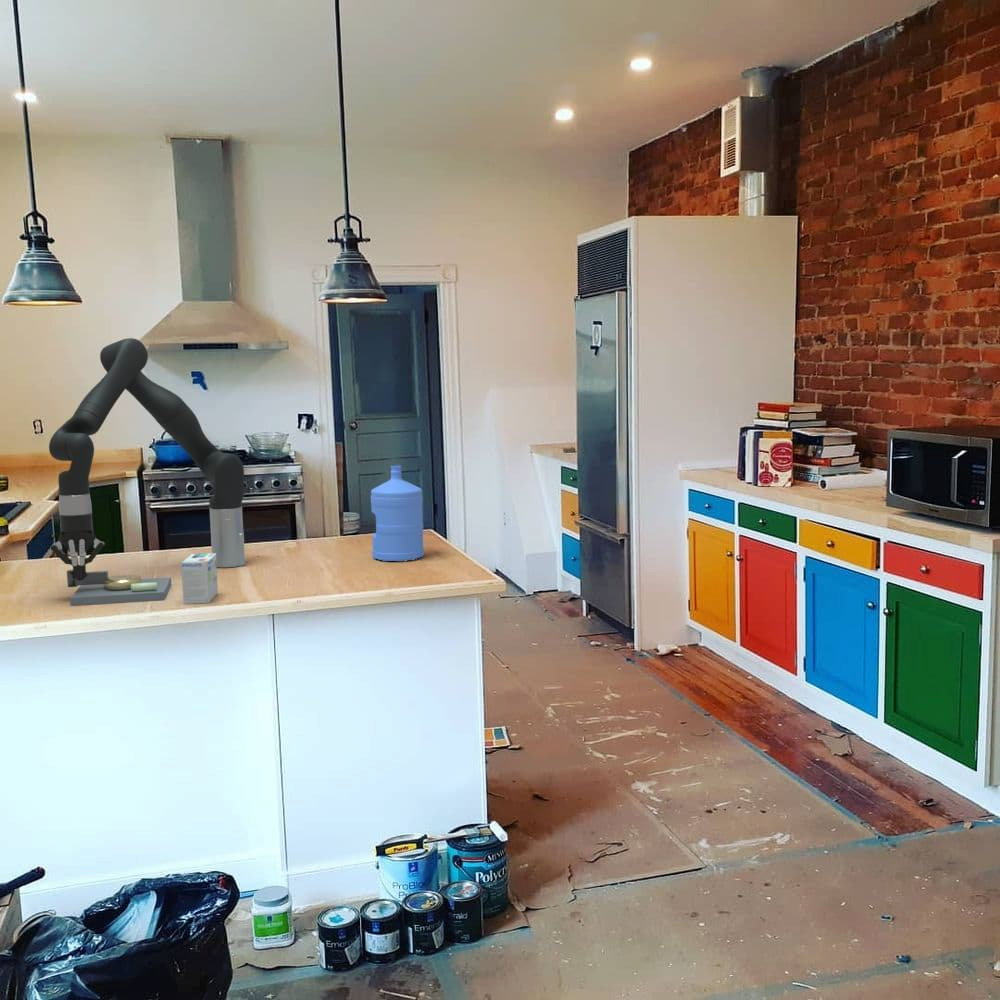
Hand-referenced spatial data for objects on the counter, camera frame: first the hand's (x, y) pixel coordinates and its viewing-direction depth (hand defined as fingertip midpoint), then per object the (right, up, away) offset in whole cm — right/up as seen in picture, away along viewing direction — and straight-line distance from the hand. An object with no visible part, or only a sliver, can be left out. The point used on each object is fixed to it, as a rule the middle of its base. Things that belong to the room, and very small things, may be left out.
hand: (80, 579), depth 245 cm
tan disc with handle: (+5, -2, +3) cm, 6 cm away
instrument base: (+9, -4, +5) cm, 11 cm away
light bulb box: (+31, -5, -1) cm, 31 cm away
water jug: (+76, +3, +49) cm, 90 cm away
